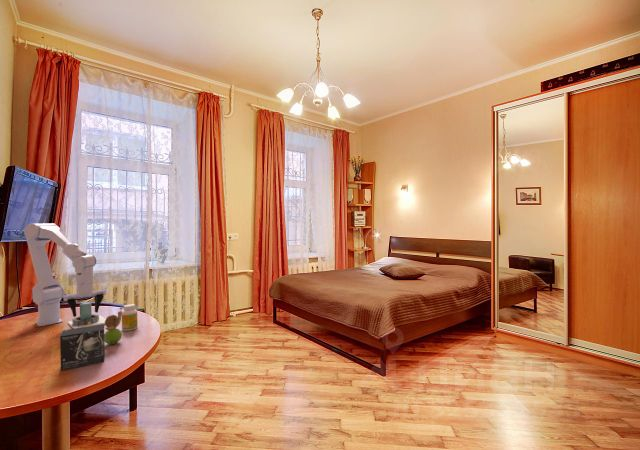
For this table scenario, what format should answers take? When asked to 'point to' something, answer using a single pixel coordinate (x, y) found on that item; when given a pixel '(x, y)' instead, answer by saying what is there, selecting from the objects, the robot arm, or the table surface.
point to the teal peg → (85, 311)
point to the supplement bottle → (129, 317)
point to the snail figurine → (113, 328)
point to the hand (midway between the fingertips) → (85, 314)
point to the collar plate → (87, 321)
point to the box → (82, 346)
